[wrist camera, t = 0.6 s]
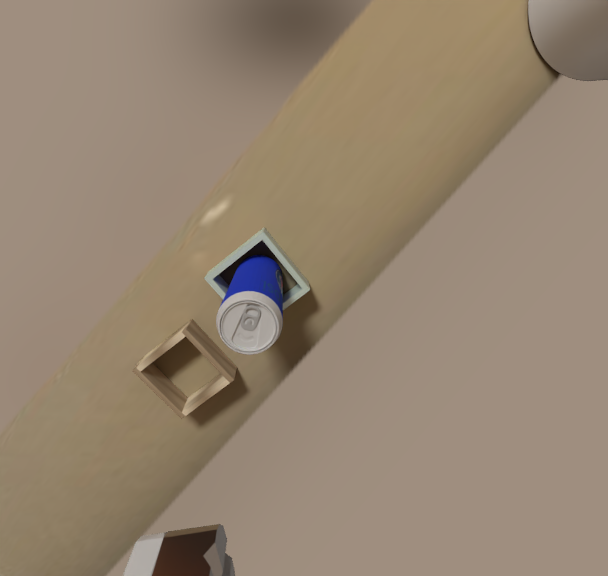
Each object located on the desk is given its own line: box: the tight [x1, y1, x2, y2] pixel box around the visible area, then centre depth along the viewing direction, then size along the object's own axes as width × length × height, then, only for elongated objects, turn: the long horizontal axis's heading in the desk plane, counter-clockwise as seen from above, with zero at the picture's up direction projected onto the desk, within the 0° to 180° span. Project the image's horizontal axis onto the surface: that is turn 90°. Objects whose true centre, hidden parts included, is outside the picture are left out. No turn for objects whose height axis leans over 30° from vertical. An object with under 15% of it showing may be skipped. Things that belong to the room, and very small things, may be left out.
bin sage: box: [204, 227, 310, 310], centre depth 44 cm, size 8×8×3 cm
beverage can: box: [216, 255, 283, 355], centre depth 38 cm, size 5×5×15 cm
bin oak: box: [133, 319, 237, 419], centre depth 46 cm, size 8×8×3 cm
